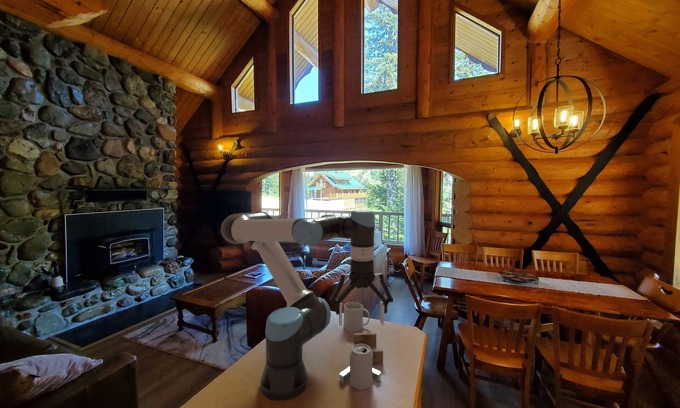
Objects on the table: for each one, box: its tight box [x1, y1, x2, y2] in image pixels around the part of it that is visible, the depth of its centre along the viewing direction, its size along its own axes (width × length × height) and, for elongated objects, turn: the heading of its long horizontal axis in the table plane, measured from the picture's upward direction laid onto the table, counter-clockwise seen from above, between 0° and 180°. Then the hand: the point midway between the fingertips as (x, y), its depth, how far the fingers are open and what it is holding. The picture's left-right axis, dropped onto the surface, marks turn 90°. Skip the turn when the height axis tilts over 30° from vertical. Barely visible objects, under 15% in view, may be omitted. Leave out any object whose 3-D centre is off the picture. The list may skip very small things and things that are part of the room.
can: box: [349, 344, 374, 391], centre depth 93 cm, size 8×8×12 cm
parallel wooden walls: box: [353, 332, 384, 366], centre depth 110 cm, size 9×13×5 cm
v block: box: [339, 366, 382, 384], centre depth 98 cm, size 14×8×2 cm, turn 94°
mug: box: [343, 301, 371, 332], centre depth 132 cm, size 11×10×10 cm
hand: (361, 323), depth 92 cm, fingers open, 13 cm apart
